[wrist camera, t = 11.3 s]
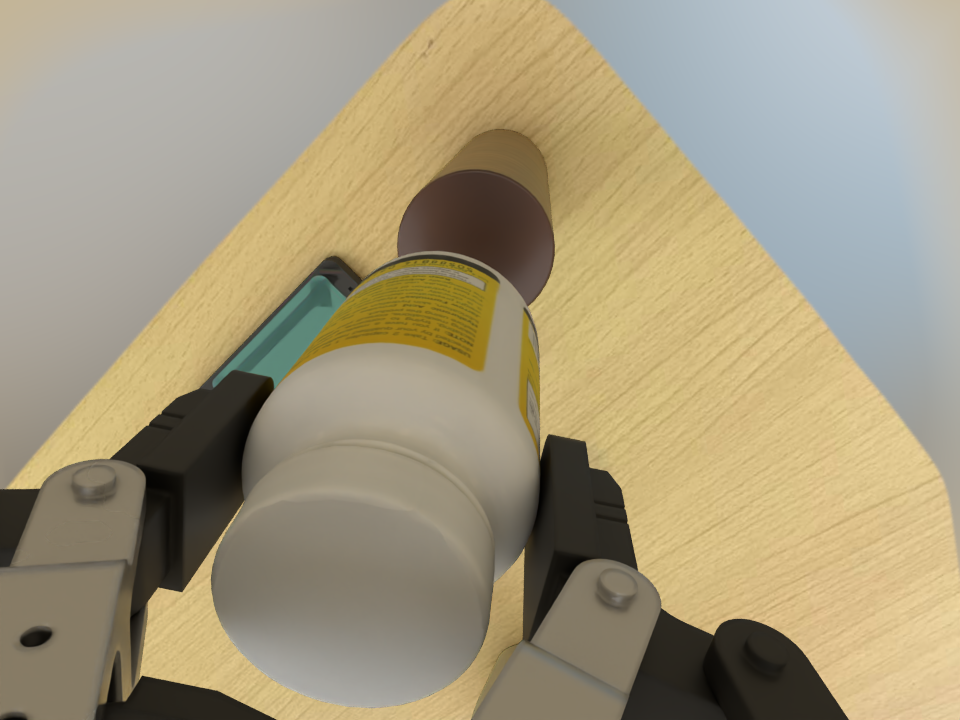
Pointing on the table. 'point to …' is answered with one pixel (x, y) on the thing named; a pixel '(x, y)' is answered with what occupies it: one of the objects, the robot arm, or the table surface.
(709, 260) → the table surface
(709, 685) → the robot arm
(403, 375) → the supplement bottle
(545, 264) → the brown metal stand
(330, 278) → the smartphone
